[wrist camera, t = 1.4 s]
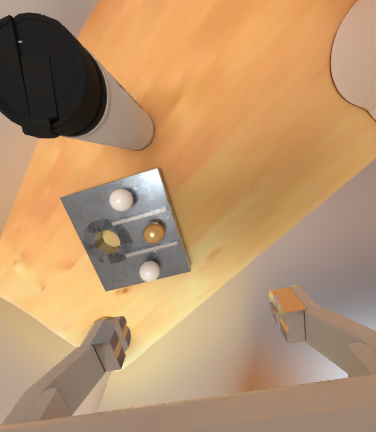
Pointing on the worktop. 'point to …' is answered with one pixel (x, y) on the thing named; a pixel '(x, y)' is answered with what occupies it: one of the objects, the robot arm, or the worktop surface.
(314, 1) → the worktop surface
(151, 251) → the plate
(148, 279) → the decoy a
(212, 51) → the worktop surface
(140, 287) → the worktop surface
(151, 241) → the brass ball
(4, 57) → the travel mug
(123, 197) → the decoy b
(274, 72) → the worktop surface
